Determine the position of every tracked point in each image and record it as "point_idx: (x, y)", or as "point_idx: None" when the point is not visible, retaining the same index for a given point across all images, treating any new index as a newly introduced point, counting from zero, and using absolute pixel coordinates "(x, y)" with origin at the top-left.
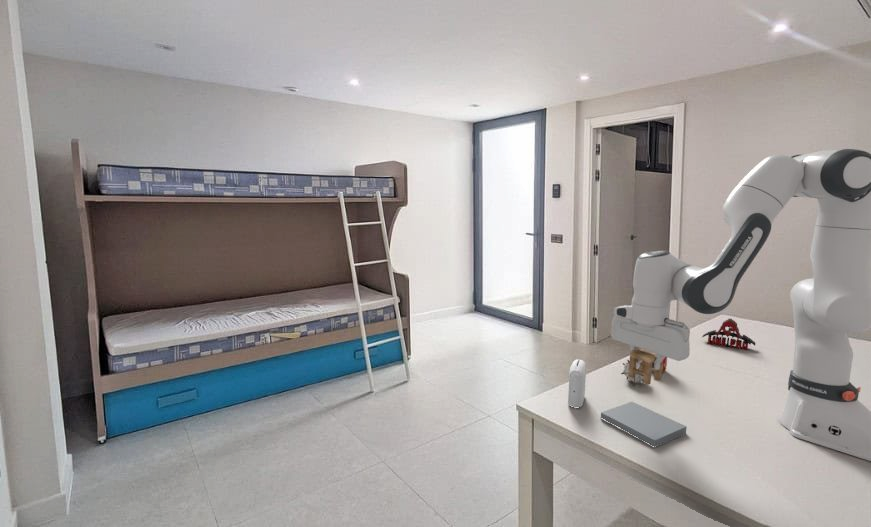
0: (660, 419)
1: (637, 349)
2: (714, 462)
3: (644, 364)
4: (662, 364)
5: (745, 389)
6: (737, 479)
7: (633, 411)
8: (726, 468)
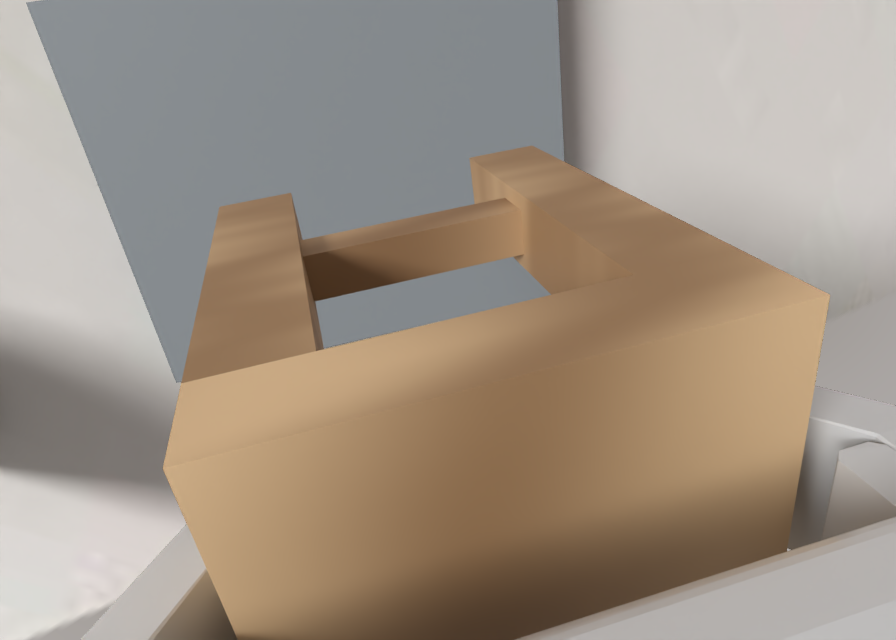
0: (401, 41)
1: (166, 625)
2: (774, 78)
3: (315, 312)
4: (662, 216)
5: None
6: (883, 105)
7: (223, 147)
8: (827, 68)
